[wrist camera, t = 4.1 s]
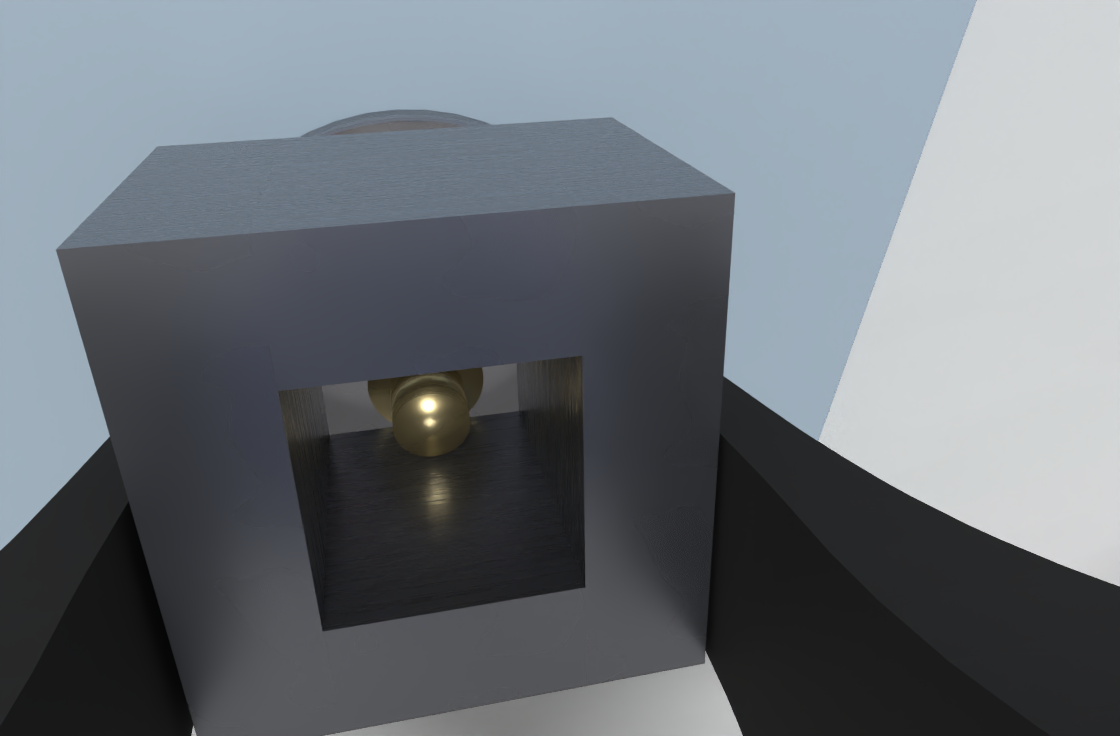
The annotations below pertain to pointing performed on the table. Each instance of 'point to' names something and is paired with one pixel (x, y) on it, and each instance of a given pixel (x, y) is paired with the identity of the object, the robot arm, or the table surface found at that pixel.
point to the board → (484, 94)
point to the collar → (375, 455)
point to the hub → (427, 399)
